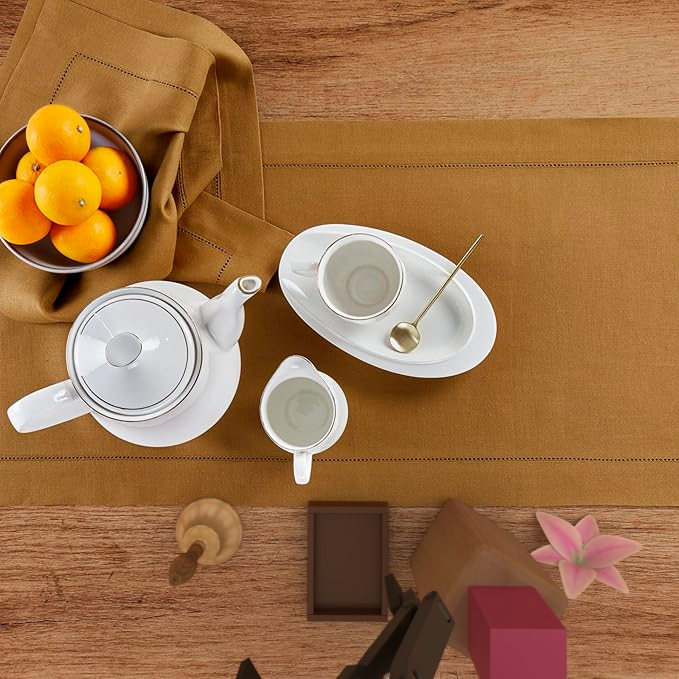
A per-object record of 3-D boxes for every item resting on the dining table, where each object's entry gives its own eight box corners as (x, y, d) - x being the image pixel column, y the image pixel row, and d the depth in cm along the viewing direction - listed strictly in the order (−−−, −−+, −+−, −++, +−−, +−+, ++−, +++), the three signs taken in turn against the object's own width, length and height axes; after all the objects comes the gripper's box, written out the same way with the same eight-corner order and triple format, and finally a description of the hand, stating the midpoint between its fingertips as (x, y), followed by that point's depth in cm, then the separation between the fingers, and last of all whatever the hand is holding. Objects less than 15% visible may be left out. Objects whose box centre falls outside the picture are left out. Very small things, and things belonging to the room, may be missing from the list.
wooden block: (518, 536, 80) (576, 602, 60) (474, 605, 80) (517, 694, 60) (449, 492, 80) (484, 543, 60) (405, 561, 80) (425, 635, 60)
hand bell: (242, 565, 80) (217, 620, 64) (175, 564, 80) (133, 619, 64) (243, 497, 80) (218, 536, 64) (176, 496, 80) (134, 534, 64)
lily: (634, 540, 80) (656, 521, 72) (608, 634, 76) (629, 625, 67) (538, 501, 84) (548, 479, 76) (508, 589, 80) (516, 575, 71)
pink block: (533, 651, 60) (566, 706, 51) (468, 651, 60) (489, 705, 51) (533, 586, 60) (567, 629, 51) (468, 585, 60) (489, 628, 51)
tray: (386, 612, 80) (388, 622, 77) (308, 611, 80) (306, 621, 77) (387, 501, 80) (388, 507, 77) (308, 500, 80) (307, 506, 77)
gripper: (490, 625, 32) (432, 514, 53) (54, 883, 32) (170, 669, 53) (569, 758, 32) (479, 593, 53) (131, 1016, 32) (217, 748, 53)
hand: (324, 631), depth 53 cm, fingers open, 13 cm apart
